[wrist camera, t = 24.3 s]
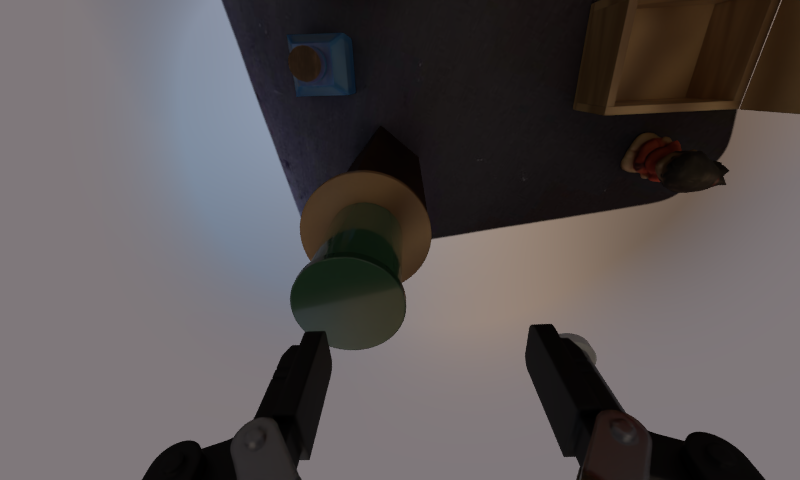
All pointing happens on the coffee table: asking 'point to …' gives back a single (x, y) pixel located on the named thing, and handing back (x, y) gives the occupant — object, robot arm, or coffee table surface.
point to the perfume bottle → (322, 64)
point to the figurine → (672, 164)
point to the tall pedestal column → (375, 197)
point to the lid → (778, 66)
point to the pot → (354, 280)
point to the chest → (670, 54)
